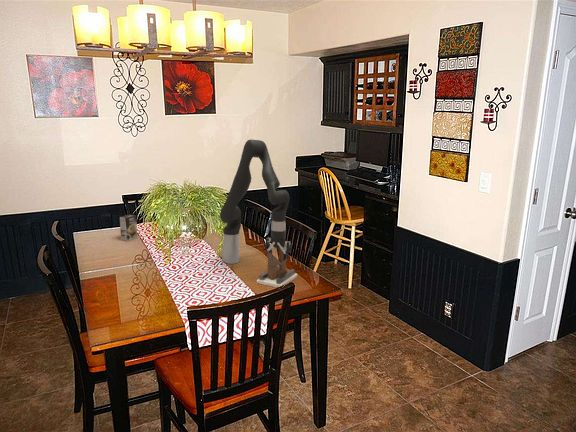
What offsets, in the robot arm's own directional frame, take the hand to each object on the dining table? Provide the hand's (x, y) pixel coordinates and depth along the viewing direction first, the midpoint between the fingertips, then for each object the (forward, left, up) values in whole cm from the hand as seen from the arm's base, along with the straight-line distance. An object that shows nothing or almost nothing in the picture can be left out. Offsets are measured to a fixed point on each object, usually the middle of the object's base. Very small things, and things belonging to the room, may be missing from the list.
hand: (277, 258), depth 229 cm
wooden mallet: (0, 0, -10) cm, 10 cm away
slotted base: (0, 0, -12) cm, 12 cm away
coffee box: (-121, +12, -12) cm, 122 cm away
